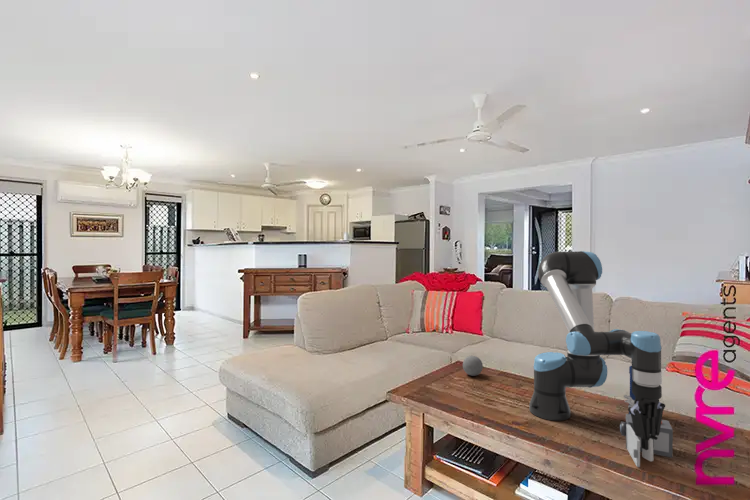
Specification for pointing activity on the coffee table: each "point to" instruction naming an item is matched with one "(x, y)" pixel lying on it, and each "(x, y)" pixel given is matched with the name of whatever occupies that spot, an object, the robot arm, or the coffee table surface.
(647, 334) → the robot arm
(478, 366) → the decorative ball
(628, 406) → the figurine
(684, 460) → the coffee table surface
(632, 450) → the door
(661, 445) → the camera body
